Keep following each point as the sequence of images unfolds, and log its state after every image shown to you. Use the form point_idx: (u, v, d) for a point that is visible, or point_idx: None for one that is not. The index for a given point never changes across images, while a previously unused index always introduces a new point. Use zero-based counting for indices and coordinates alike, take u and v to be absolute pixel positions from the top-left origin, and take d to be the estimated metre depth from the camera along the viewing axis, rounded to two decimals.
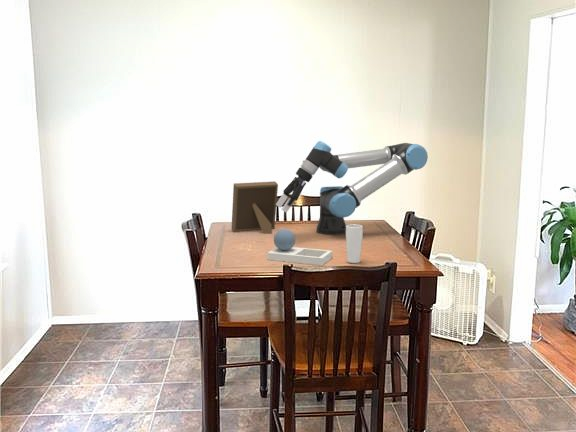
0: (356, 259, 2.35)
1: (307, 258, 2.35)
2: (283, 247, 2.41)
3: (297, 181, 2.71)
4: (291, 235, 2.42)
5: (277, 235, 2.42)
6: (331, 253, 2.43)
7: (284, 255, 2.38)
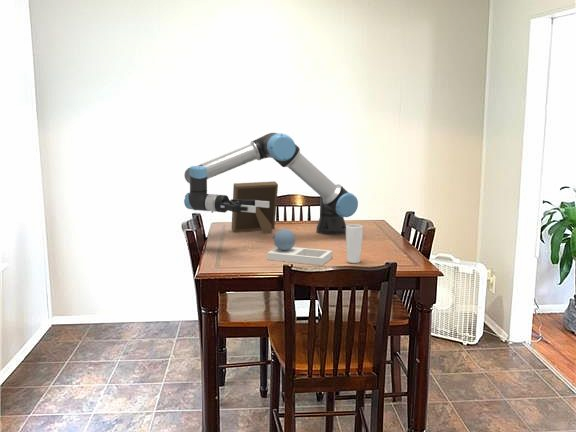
0: (356, 259, 2.35)
1: (307, 258, 2.35)
2: (283, 247, 2.41)
3: None
4: (291, 235, 2.42)
5: (277, 235, 2.42)
6: (331, 253, 2.43)
7: (284, 255, 2.38)
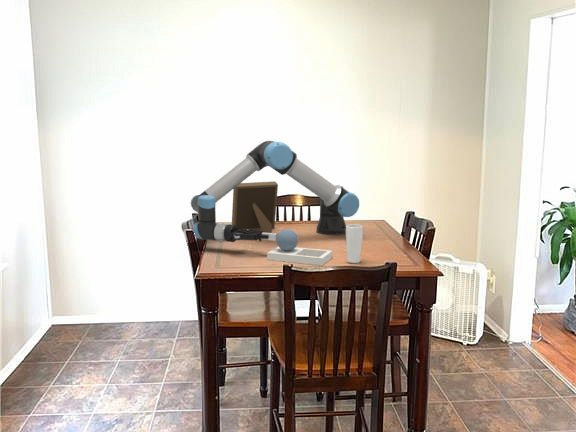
0: (356, 259, 2.35)
1: (307, 258, 2.35)
2: (284, 248, 2.41)
3: None
4: (295, 238, 2.41)
5: (281, 235, 2.41)
6: (331, 253, 2.43)
7: (284, 255, 2.38)
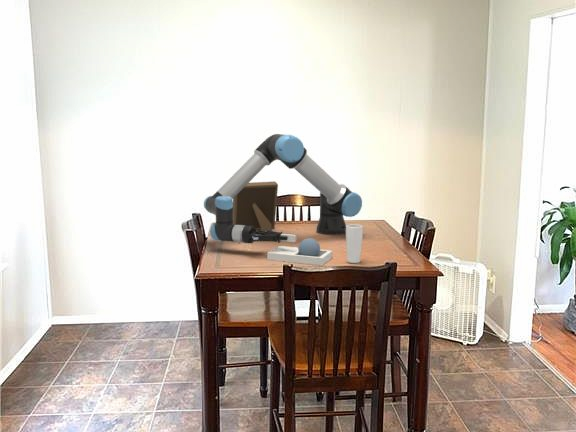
0: (356, 259, 2.35)
1: (307, 258, 2.35)
2: (301, 246, 2.38)
3: None
4: None
5: (311, 255, 2.37)
6: (331, 253, 2.43)
7: (284, 255, 2.38)
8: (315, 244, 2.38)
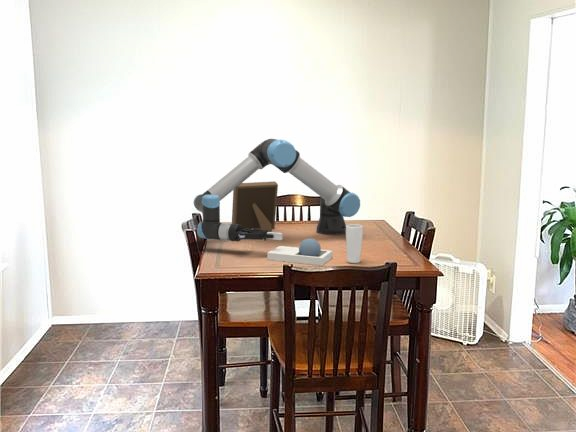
0: (356, 259, 2.35)
1: (307, 258, 2.35)
2: (302, 246, 2.38)
3: None
4: None
5: (312, 255, 2.37)
6: (331, 253, 2.43)
7: (284, 255, 2.38)
8: (316, 245, 2.37)
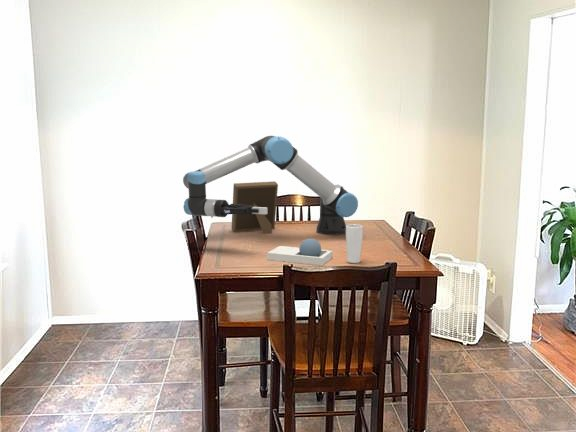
0: (356, 259, 2.35)
1: (307, 258, 2.35)
2: (303, 245, 2.37)
3: None
4: None
5: None
6: (331, 253, 2.43)
7: (284, 255, 2.38)
8: (317, 245, 2.37)
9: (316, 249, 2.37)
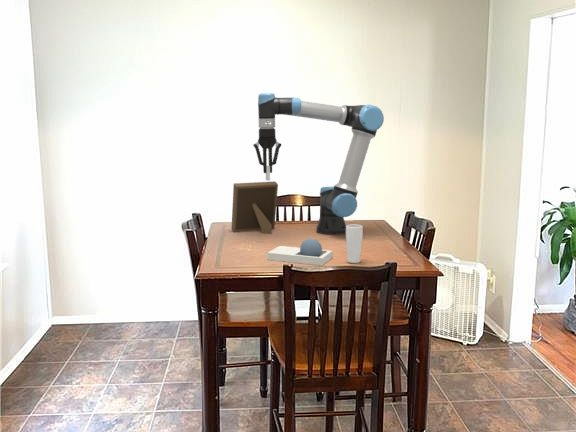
0: (356, 259, 2.35)
1: (307, 258, 2.35)
2: (304, 245, 2.37)
3: (271, 143, 2.64)
4: None
5: None
6: (331, 253, 2.43)
7: (284, 255, 2.38)
8: (318, 246, 2.37)
9: (317, 250, 2.37)
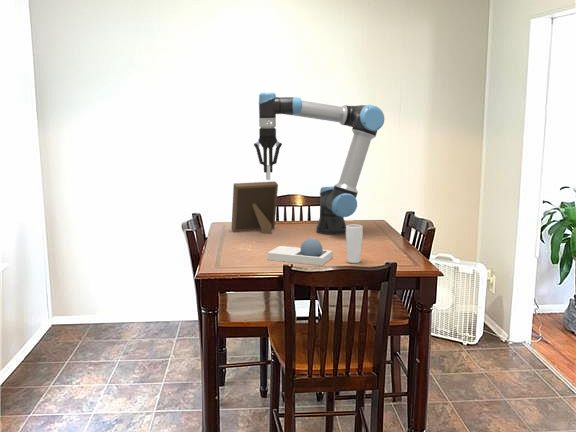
0: (356, 259, 2.35)
1: (307, 258, 2.35)
2: (305, 245, 2.37)
3: None
4: None
5: (313, 256, 2.37)
6: (331, 253, 2.43)
7: (284, 255, 2.38)
8: (318, 246, 2.37)
9: (317, 250, 2.37)
